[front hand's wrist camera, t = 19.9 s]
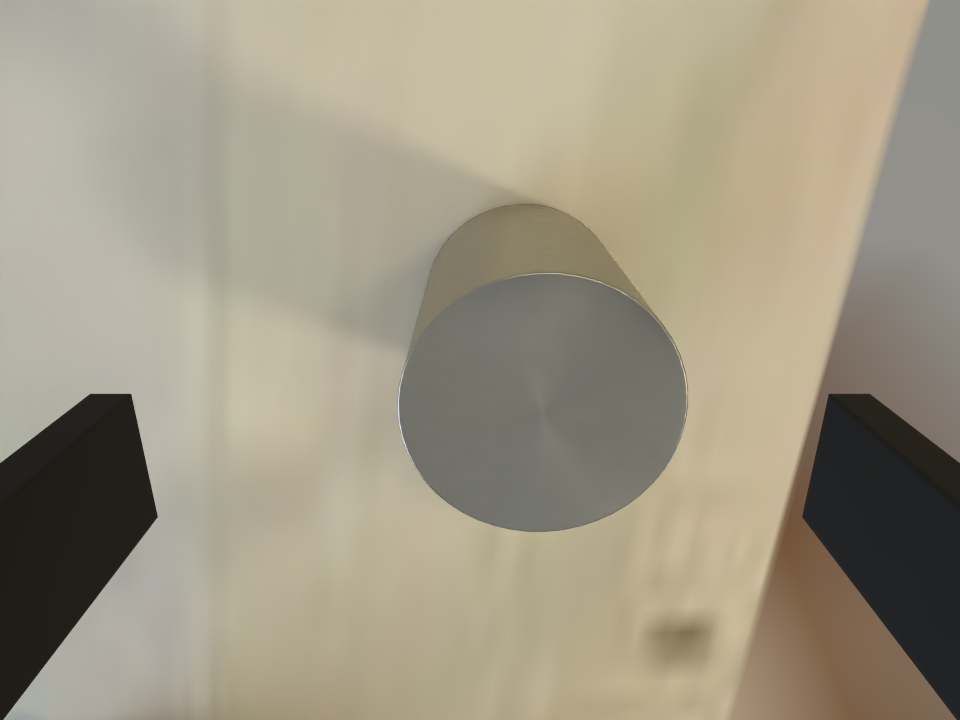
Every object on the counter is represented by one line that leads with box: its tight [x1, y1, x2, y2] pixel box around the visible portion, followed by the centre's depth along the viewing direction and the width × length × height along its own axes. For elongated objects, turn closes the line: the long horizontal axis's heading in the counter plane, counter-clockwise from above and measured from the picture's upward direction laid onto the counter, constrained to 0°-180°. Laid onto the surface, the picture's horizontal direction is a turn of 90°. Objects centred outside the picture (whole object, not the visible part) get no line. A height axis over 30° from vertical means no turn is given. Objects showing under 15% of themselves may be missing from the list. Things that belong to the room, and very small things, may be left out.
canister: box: [398, 204, 688, 532], centre depth 23 cm, size 8×8×10 cm
